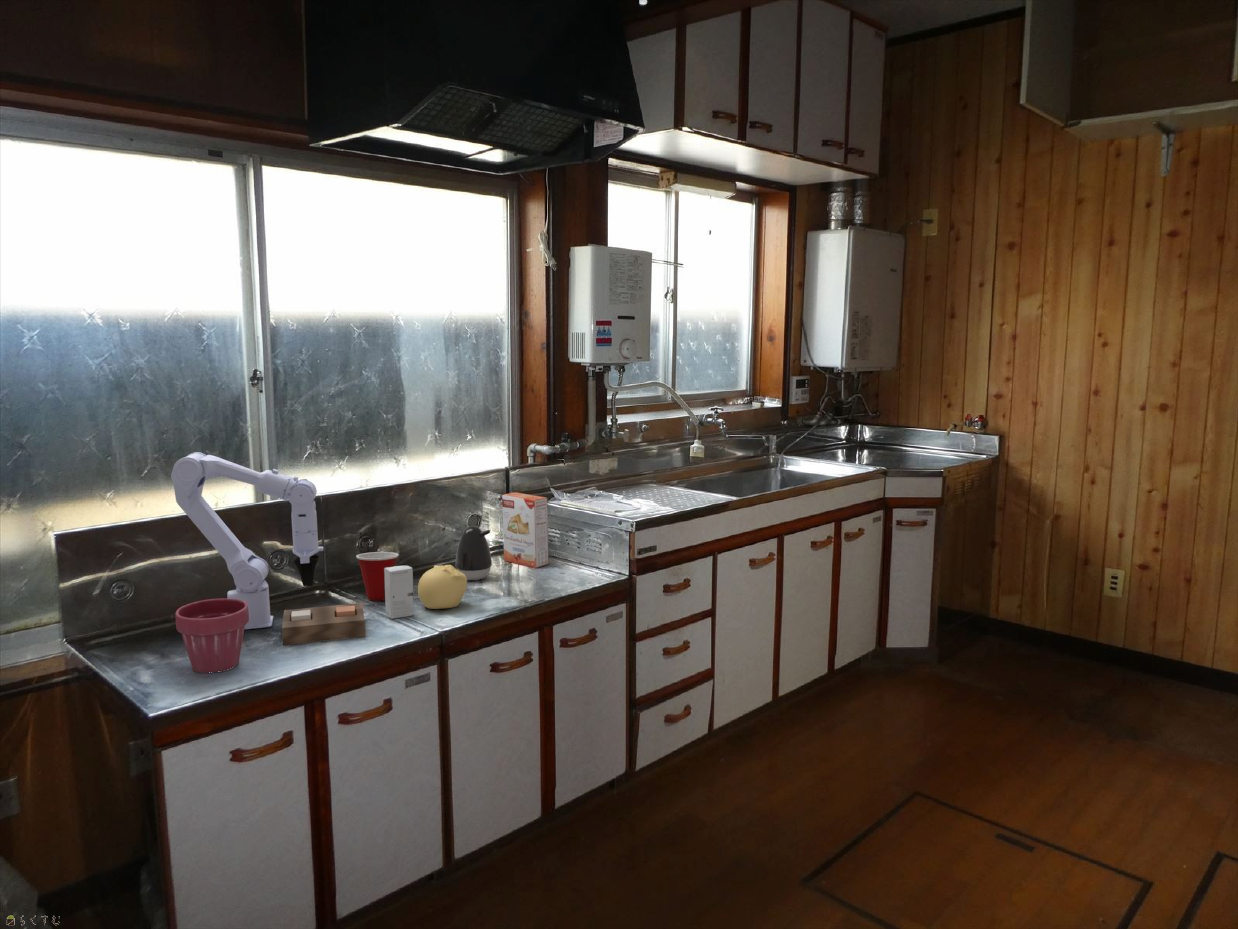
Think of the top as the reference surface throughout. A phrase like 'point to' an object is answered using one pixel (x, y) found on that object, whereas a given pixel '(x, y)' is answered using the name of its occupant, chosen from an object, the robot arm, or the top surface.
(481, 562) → the pump dispenser
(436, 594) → the sculpture
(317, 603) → the top surface
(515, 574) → the top surface
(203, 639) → the plant pot
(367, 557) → the plastic cup
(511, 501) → the cracker box
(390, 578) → the skincare box
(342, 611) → the terracotta key
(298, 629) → the walnut panel
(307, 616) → the cream key
